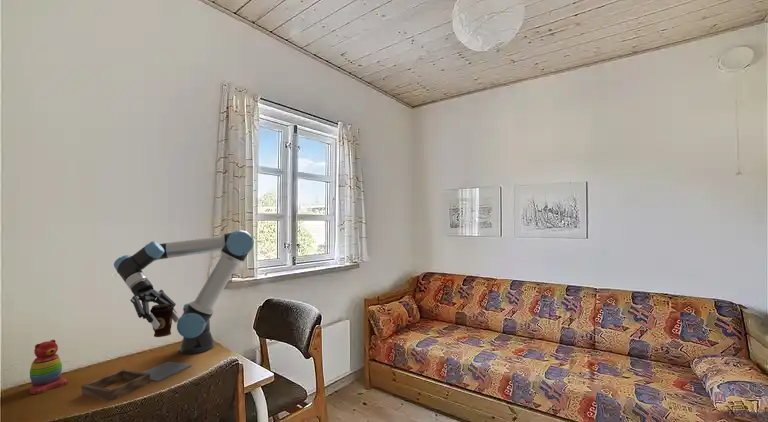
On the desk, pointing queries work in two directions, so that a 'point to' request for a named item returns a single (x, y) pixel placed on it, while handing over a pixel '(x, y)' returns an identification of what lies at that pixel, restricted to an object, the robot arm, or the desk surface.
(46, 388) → the stacking bear
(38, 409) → the desk surface
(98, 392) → the square frame
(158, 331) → the coffee cup
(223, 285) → the robot arm
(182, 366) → the mat
